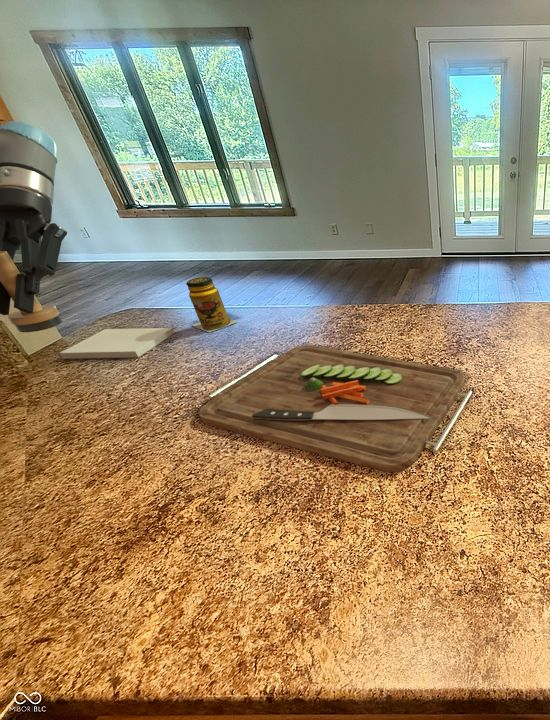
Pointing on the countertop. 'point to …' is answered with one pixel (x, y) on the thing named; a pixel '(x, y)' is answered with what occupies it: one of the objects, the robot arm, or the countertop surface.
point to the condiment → (208, 305)
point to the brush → (42, 316)
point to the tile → (118, 343)
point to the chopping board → (341, 405)
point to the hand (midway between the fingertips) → (11, 310)
